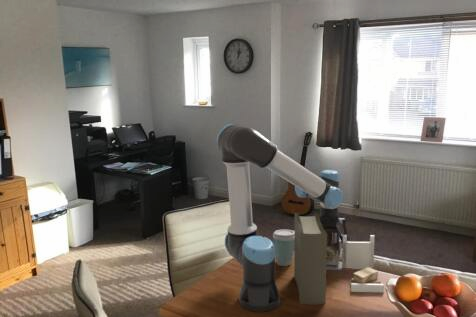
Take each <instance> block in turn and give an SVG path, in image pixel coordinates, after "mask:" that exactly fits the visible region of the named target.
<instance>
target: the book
mask: <svg viewBox="0 0 476 317" xmlns="http://www.w3.org/2000/svg"><path fill="white" fill-rule="evenodd" d="M319 217H320V213H319V212H314V215H313V216H301V215H299V212H294V231H295V247H294V262H293V263H294V265H293V266H294V267H293V268H294V274H293V275H294V276H295V277H294V279H295V282H296V286H297V290H298V298H299V304H303V305H321V304H323V305H324V304H326V294H327V292H326V290H327V288H326V287H327V270H326V255H327V234H326V232H325V230H324V228H323V227H322V224H321V222H320V219H319Z"/></svg>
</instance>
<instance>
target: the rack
mask: <svg viewBox="0 0 476 317" xmlns="http://www.w3.org/2000/svg"><path fill="white" fill-rule="evenodd" d="M342 237H343V240H342V256H341V269H342V268H352V269H351V270H363V269H365V268H367V267H370V268H372V269H374V261H375V260H374V259H375V258H374V257H375V234H370V235H369V241H347V235H344V234H342ZM384 289H385V285H384V283H381V284H371V283H351V282H350V291H351V292H352V293H384Z"/></svg>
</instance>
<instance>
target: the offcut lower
mask: <svg viewBox="0 0 476 317" xmlns="http://www.w3.org/2000/svg"><path fill="white" fill-rule="evenodd" d="M351 283H359V282H357V281H355V280H353V277H352V278H350V284H351ZM367 283H371V284H382V281H381V280H380V279H378V278H376V279H374V280H372V281H369V282H367Z"/></svg>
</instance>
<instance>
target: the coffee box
mask: <svg viewBox="0 0 476 317" xmlns="http://www.w3.org/2000/svg"><path fill="white" fill-rule="evenodd" d="M336 226H337V228H338V229H334V227H333V228H330V227H328V228H324V230H325V232H326V234H327V255H326V265H337V266H339V263H340V256H339V240H340V237H339V231H340V225H337V224H336Z"/></svg>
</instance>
